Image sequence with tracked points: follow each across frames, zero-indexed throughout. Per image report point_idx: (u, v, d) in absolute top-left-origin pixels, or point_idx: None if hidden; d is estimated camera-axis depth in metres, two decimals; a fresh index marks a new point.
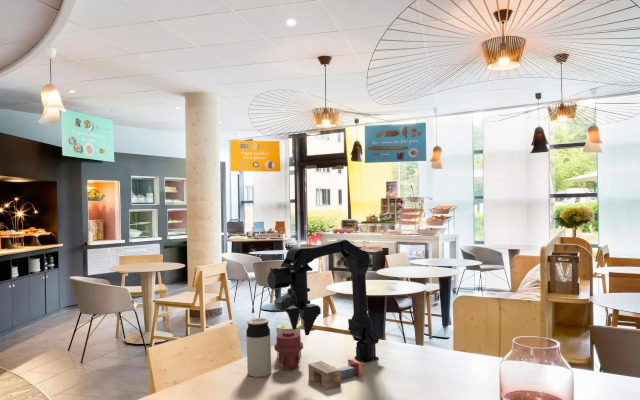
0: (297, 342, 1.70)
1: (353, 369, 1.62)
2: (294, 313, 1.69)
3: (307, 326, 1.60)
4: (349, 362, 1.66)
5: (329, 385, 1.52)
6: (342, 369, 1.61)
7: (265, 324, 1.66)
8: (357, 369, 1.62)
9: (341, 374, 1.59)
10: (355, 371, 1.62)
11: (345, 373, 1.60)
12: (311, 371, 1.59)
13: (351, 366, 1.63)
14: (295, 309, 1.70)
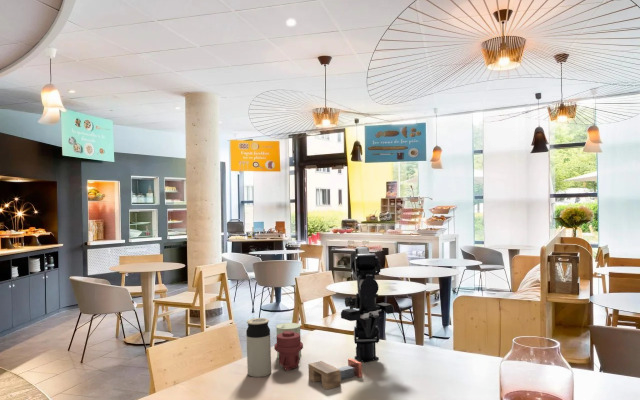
0: (297, 342, 1.70)
1: (353, 369, 1.62)
2: None
3: (364, 327, 1.67)
4: (349, 362, 1.66)
5: (329, 385, 1.52)
6: (342, 369, 1.61)
7: (265, 324, 1.66)
8: (357, 369, 1.62)
9: (341, 374, 1.59)
10: (355, 371, 1.62)
11: (345, 373, 1.60)
12: (311, 371, 1.59)
13: (351, 366, 1.63)
14: (371, 317, 1.67)
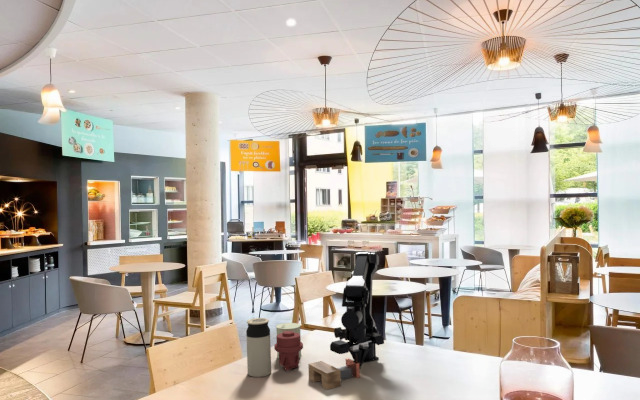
0: (297, 342, 1.70)
1: (351, 369, 1.61)
2: None
3: (354, 359, 1.64)
4: (347, 362, 1.65)
5: (329, 385, 1.52)
6: (340, 369, 1.60)
7: (265, 324, 1.66)
8: (355, 369, 1.61)
9: None
10: (353, 371, 1.62)
11: (343, 374, 1.60)
12: (311, 371, 1.59)
13: (349, 366, 1.63)
14: (360, 349, 1.64)
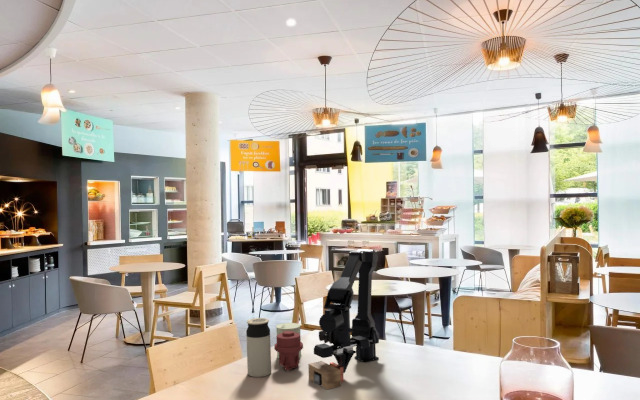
0: (297, 342, 1.70)
1: None
2: None
3: (338, 363, 1.61)
4: None
5: (329, 385, 1.52)
6: None
7: (265, 324, 1.66)
8: None
9: None
10: None
11: None
12: (311, 371, 1.59)
13: None
14: (345, 352, 1.61)
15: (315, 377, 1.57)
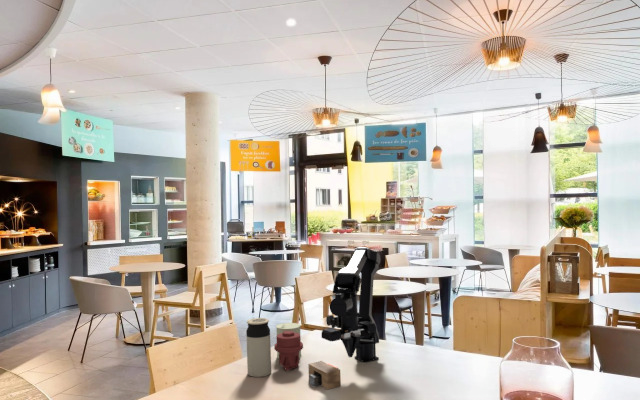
0: (297, 342, 1.70)
1: None
2: None
3: (345, 347, 1.63)
4: None
5: (329, 385, 1.52)
6: (318, 375, 1.56)
7: (265, 324, 1.66)
8: None
9: (317, 380, 1.55)
10: None
11: (321, 379, 1.56)
12: (311, 371, 1.59)
13: None
14: (353, 337, 1.63)
15: (310, 378, 1.56)
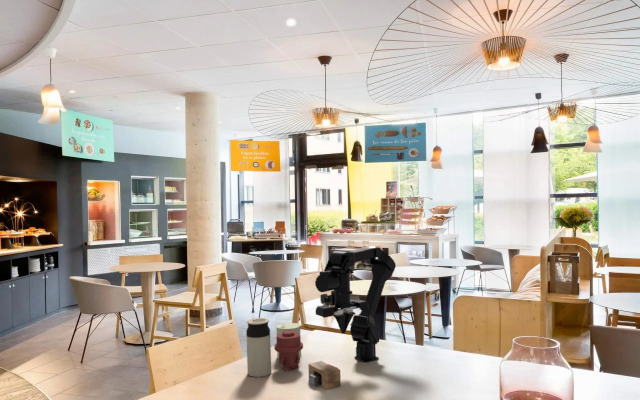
0: (297, 342, 1.70)
1: None
2: None
3: (339, 323, 1.71)
4: None
5: (329, 385, 1.52)
6: (318, 375, 1.56)
7: (265, 324, 1.66)
8: None
9: (317, 380, 1.55)
10: None
11: (321, 379, 1.56)
12: (311, 371, 1.59)
13: None
14: (345, 314, 1.70)
15: (310, 378, 1.56)
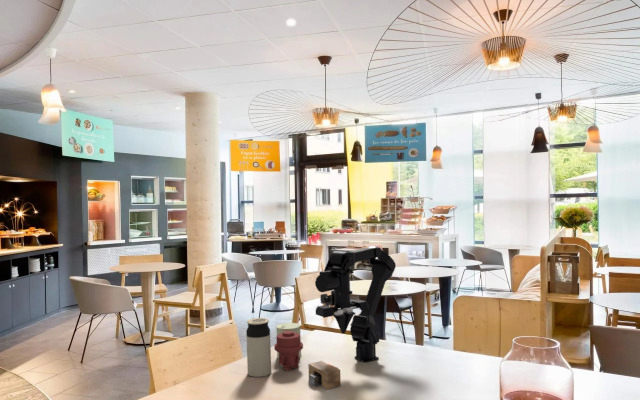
0: (297, 342, 1.70)
1: None
2: None
3: (339, 323, 1.71)
4: None
5: (329, 385, 1.52)
6: (318, 375, 1.56)
7: (265, 324, 1.66)
8: None
9: (317, 380, 1.55)
10: None
11: (321, 379, 1.56)
12: (311, 371, 1.59)
13: None
14: (345, 314, 1.70)
15: (310, 378, 1.56)
